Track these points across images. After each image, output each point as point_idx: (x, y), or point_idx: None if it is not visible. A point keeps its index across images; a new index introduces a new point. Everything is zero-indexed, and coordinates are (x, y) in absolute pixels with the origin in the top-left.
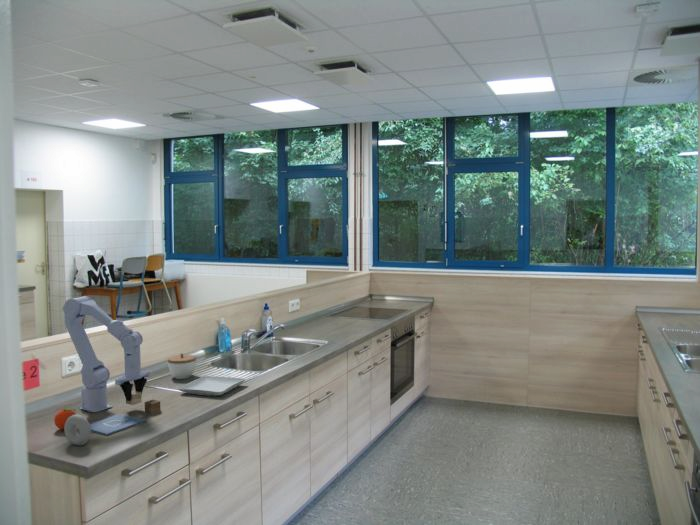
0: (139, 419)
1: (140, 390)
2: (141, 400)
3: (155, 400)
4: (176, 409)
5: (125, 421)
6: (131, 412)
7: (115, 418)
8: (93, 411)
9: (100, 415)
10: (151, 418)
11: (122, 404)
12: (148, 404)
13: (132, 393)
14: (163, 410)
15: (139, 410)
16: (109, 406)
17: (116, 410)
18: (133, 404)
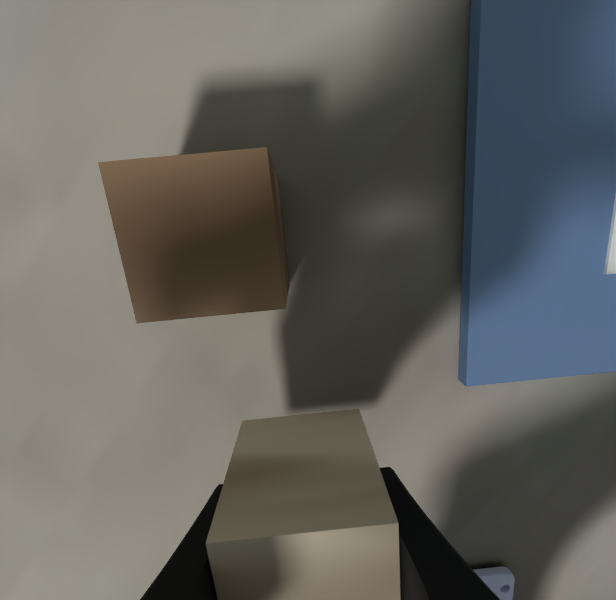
0: (500, 71)
1: (195, 596)
2: (239, 433)
3: (137, 248)
4: (16, 73)
5: (604, 148)
6: (358, 376)
7: (573, 311)
8: (513, 582)
9: (524, 494)
10: (369, 44)
11: None
12: (276, 226)
13: (353, 578)
14: None
15: (285, 369)
16: None
17: None
18: (352, 412)
